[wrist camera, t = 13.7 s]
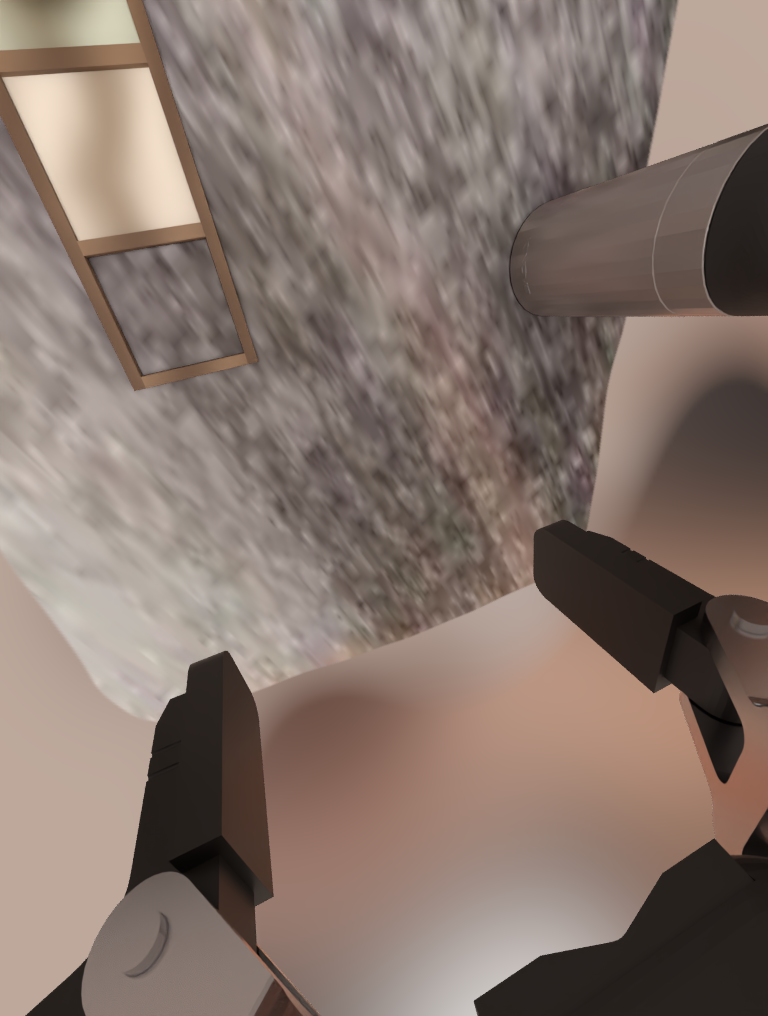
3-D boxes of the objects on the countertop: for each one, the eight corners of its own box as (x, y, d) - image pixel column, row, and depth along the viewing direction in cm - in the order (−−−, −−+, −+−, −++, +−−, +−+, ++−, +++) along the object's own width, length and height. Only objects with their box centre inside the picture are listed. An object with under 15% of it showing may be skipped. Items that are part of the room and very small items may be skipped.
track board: (77, -197, 19) (72, -216, 18) (257, 360, 32) (258, 361, 31) (-155, -214, 17) (-171, -236, 16) (136, 389, 30) (134, 390, 29)
